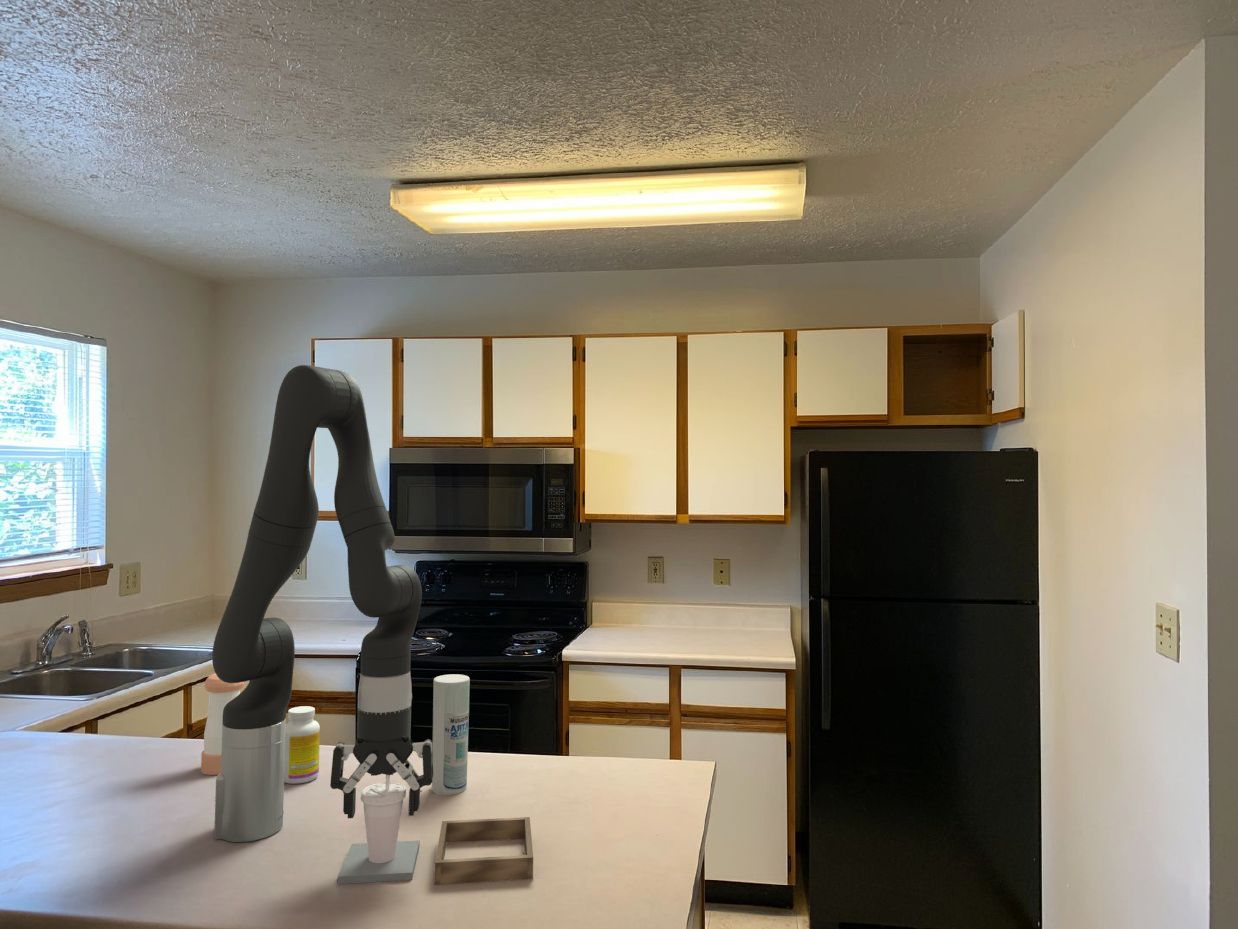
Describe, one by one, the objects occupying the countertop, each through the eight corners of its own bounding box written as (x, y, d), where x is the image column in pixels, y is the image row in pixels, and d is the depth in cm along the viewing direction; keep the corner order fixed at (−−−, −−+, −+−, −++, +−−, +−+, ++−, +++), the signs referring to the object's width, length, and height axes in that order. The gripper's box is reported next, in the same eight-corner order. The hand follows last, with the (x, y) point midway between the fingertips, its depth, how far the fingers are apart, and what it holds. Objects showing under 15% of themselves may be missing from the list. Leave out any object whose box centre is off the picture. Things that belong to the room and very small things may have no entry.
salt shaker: (231, 775, 147) (234, 673, 147) (193, 775, 147) (196, 672, 147) (250, 762, 154) (253, 664, 154) (213, 761, 154) (216, 664, 155)
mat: (337, 884, 107) (338, 876, 108) (351, 850, 117) (351, 843, 117) (412, 879, 109) (412, 872, 109) (419, 847, 119) (419, 840, 119)
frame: (434, 884, 108) (434, 863, 108) (441, 840, 121) (442, 821, 121) (532, 879, 110) (533, 857, 110) (529, 836, 123) (529, 817, 123)
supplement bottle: (326, 777, 147) (328, 708, 147) (295, 788, 141) (297, 716, 142) (304, 769, 150) (306, 702, 151) (272, 780, 145) (275, 710, 145)
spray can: (450, 779, 147) (452, 672, 147) (474, 787, 143) (477, 677, 143) (423, 789, 141) (426, 679, 142) (448, 798, 138) (450, 684, 138)
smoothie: (391, 870, 110) (394, 769, 110) (349, 865, 111) (353, 765, 111) (412, 850, 116) (414, 754, 116) (372, 845, 117) (375, 751, 118)
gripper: (328, 711, 109) (325, 829, 109) (432, 709, 111) (429, 824, 111) (339, 697, 117) (336, 807, 116) (436, 695, 119) (434, 802, 118)
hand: (381, 815), depth 113 cm, fingers open, 8 cm apart
